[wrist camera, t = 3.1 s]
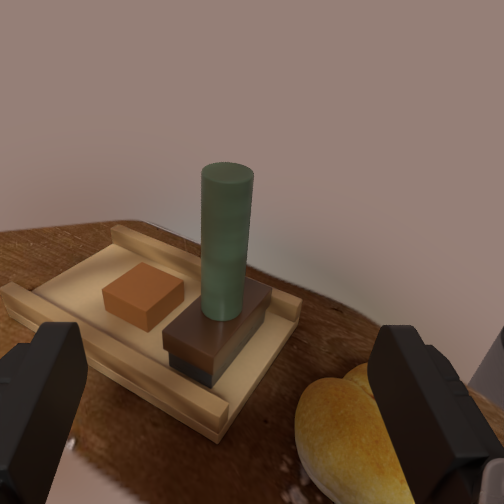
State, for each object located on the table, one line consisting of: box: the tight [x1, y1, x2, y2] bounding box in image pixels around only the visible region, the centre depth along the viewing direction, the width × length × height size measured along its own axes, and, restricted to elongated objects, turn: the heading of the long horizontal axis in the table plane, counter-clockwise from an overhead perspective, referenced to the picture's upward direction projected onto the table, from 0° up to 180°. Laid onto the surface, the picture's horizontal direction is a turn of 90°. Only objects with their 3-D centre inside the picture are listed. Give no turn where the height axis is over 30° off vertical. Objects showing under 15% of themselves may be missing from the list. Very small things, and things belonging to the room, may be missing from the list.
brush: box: [162, 162, 272, 389], centre depth 22 cm, size 4×7×12 cm, turn 151°
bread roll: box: [295, 362, 415, 504], centre depth 20 cm, size 8×9×4 cm
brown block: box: [102, 262, 184, 333], centre depth 28 cm, size 4×4×2 cm
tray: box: [0, 224, 303, 444], centre depth 28 cm, size 18×11×3 cm, turn 61°
